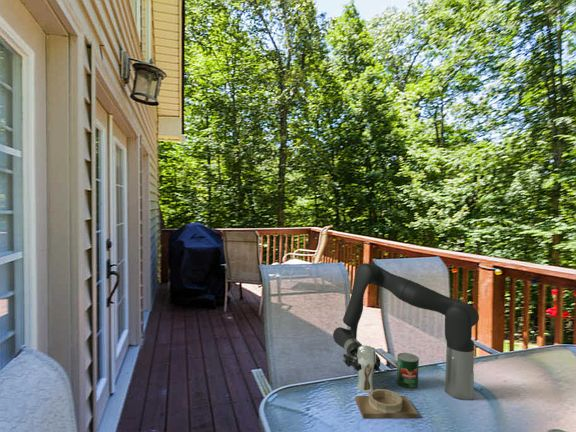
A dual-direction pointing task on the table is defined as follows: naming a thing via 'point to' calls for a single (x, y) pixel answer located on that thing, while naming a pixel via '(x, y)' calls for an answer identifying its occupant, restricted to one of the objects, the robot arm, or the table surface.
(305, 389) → the table surface
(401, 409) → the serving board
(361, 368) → the beer glass
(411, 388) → the canned tomato
